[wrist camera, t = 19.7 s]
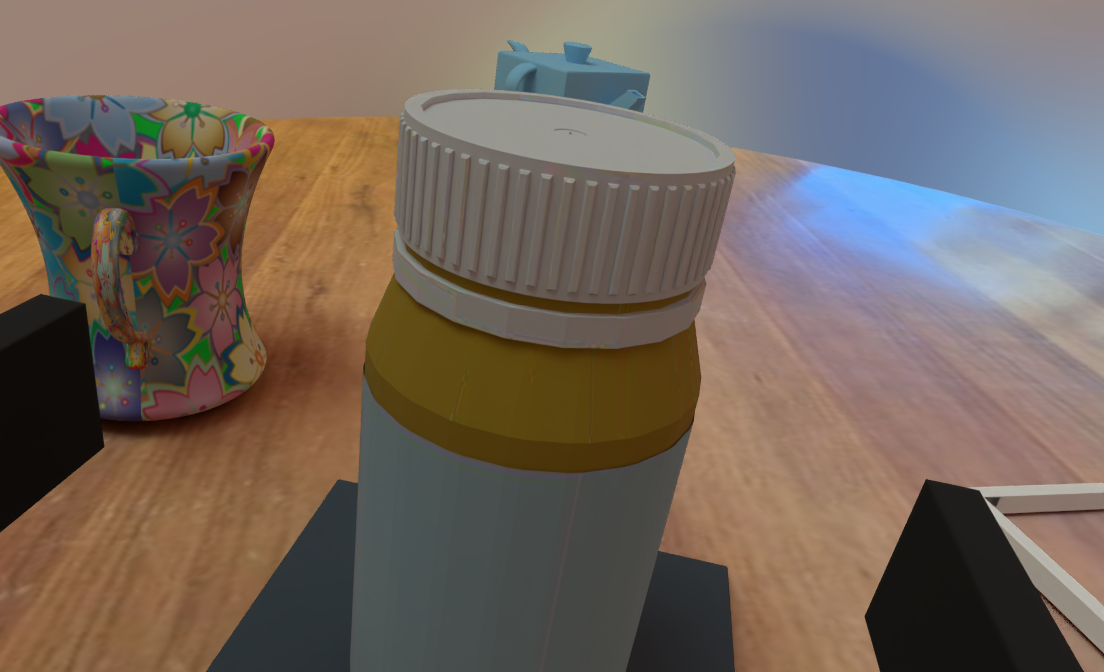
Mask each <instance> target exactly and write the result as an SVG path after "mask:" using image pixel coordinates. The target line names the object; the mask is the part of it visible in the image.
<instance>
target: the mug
mask: <svg viewBox="0 0 1104 672" xmlns="http://www.w3.org/2000/svg"><path fill="white" fill-rule="evenodd" d="M274 142H275V140H274V135H273V132H272V131H271V130H270V128H269V127H267V126H266V125H265V124H264V123H262V122H260V121H259V120H256V119H254V118H252V117H250V116H247V115H244V114H241V113H238V112H234V111H231V110H227V109H223V108H219V107H215V106H210V105H204V104H198V103H193V102H186V101H179V100H170V99H160V98H149V97H134V96H105V95H103V96H102V95H101V96H99V95H96V96H95V95H94V96H93V95H92V96H64V97H50V98H40V99H33V100H26V101H20V102H15V103H11V104H7V105H3V106H0V165H1V167H2V169H3V170H4V172H5V173H6V175H7V176H8V178H9V180H10V181H11V183H12V185H13V187H14V188H15V190H16V192H17V194H18V195H19V197H20V199H21V201H22V203H23V205H24V207H25V209H26V211H27V213H28V216H29V218H30V220H31V222H32V225H33V227H34V230H35V232H36V235H37V238H38V241H39V244H40V247H41V251H42V254H43V258H44V262H45V266H46V271H47V276H48V283H49V292H50V296H52V297H57V298H62V299H66V300H71V301H76V302H81V303H86V310H87V318H88V325H89V333H90V341H91V348H92V356H93V364H94V372H95V379H96V387H97V395H98V402H99V410H100V418H101V419H107V420H117V421H155V420H164V419H171V418H178V417H183V416H188V415H192V414H195V413H199V412H202V411H206V410H209V409H211V408H214V407H217V406H219V405H222V404H224V403H226V402H228V401H230V400H232V399H234V398H236V397H237V396H239V395H240V394H242V393H244V392H245V391H246V390H247V389H249V388H250V387H251V386H252V385H253V384H254V383H255V382H256V381H257V379H258V378H259V377H260V376H261V374H262V372H263V370H264V367H265V364H266V359H267V354H266V350H265V346H264V344H263V342H262V340H261V339H260V337H259V336H258V334H257V333H256V331H255V329H254V327H253V324H252V322H251V319H250V317H249V314H248V311H247V307H246V303H245V297H244V291H243V284H242V247H243V237H244V231H245V225H246V220H247V216H248V211H249V207H250V204H251V200H252V197H253V194H254V191H255V188H256V185H257V182H258V180H259V177H260V175H261V172H262V170H263V168H264V165H265V163H266V161H267V159H268V157H269V155H270V153H271V151H272V148H273V146H274Z"/></svg>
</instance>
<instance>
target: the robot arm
mask: <svg viewBox="0 0 1104 672" xmlns="http://www.w3.org/2000/svg"><path fill="white" fill-rule="evenodd" d="M102 448H104V441H103V433H102V425H101V418H100V410H99V402H98V395H97V387H96V379H95V372H94V364H93V356H92V348H91V341H90V333H89V325H88V318H87V310H86V303H81V302H76V301H71V300H66V299H62V298H57V297H52V296H47V295H43V294H40V295H38V296H36V297H34V298H32V299H30V300H28V301H26V302H24V303H22V304H20V305H18V306H16V307H14V308H12V309H10V310H8V311H6V312H4V313H2V314H0V532H1V531H3V530H4V529H5V528H6V527H7V526H9V525H10V524H11V523H12V522H13V521H15V520H16V519H17V518H18V517H20V516H21V515H22V514H23V513H24V512H26V511H27V510H28V509H29V508H31V507H32V506H33V505H34V504H35V503H37V502H38V501H39V500H40V499H42V498H43V497H44V496H45V495H46V494H48V493H49V492H50V491H51V490H53V489H54V488H55V487H56V486H57V485H59V484H60V483H61V482H62V481H63V480H65V479H66V478H67V477H68V476H70V475H71V474H72V473H73V472H74V471H76V470H77V469H78V468H79V467H81V466H82V465H83V464H84V463H85V462H87V461H88V460H89V459H90V458H92V457H93V456H94V455H95V454H96V453H98V452H99V451H100V450H101V449H102ZM865 620H866V623H867V627H868V630H869V634H870V637H871V641H872V644H873V648H874V651H875V655H876V658H877V662H878V665H879V669H880V672H1084V671H1083V670H1082V668H1081V666H1080V664H1079V663H1078V661H1077V659H1076V657H1075V656H1074V654H1073V652H1072V650H1071V649H1070V647H1069V645H1068V643H1067V642H1066V640H1065V638H1064V637H1063V635H1062V633H1061V631H1060V630H1059V628H1058V626H1057V624H1056V623H1055V621H1054V619H1053V617H1052V616H1051V614H1050V612H1049V610H1048V609H1047V607H1046V605H1045V604H1044V602H1043V600H1042V598H1041V597H1040V595H1039V593H1038V591H1037V590H1036V588H1035V586H1034V584H1033V583H1032V581H1031V579H1030V577H1029V576H1028V574H1027V572H1026V570H1025V569H1024V567H1023V565H1022V564H1021V562H1020V560H1019V558H1018V557H1017V555H1016V553H1015V551H1014V550H1013V548H1012V546H1011V544H1010V543H1009V541H1008V539H1007V537H1006V536H1005V534H1004V532H1003V531H1002V529H1001V527H1000V525H999V524H998V522H997V520H996V518H995V517H994V515H993V513H992V511H991V510H990V508H989V506H988V504H987V503H986V501H985V499H984V497H983V496H982V494H981V492H980V491H979V490H975V489H971V488H966V487H961V486H956V485H951V484H947V483H942V482H937V481H932V480H928V479H926V480H925V483H924V485H923V487H922V489H921V492H920V494H919V496H918V498H917V500H916V503H915V505H914V507H913V509H912V512H911V514H910V516H909V518H908V521H907V523H906V525H905V527H904V529H903V532H902V534H901V536H900V538H899V541H898V543H897V545H896V547H895V550H894V552H893V554H892V556H891V558H890V561H889V563H888V565H887V567H886V570H885V572H884V574H883V576H882V579H881V581H880V583H879V585H878V588H877V590H876V592H875V594H874V596H873V599H872V601H871V603H870V605H869V608H868V610H867V612H866V614H865Z"/></svg>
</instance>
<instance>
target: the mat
mask: <svg viewBox="0 0 1104 672" xmlns="http://www.w3.org/2000/svg"><path fill="white" fill-rule="evenodd" d="M357 498H358V484H357V483H353V482H348V481H344V480H338V481H337V482H336V484H335V485H334V486H333V488H332V489H331V491H330V492H329V494H328V495H327V497H326V498H325V500H324V501H323V502H322V504H321V505H320V507H319V508H318V510H317V511H316V513H315V514H314V516H313V517H312V518H311V520H310V521H309V523H308V524H307V526H306V527H305V529H304V530H303V531H302V533H301V534H300V536H299V537H298V539H297V540H296V542H295V543H294V545H293V546H292V547H291V549H290V550H289V552H288V553H287V555H286V556H285V558H284V559H283V561H282V562H281V563H280V565H279V566H278V568H277V569H276V571H275V572H274V574H273V575H272V577H271V578H270V579H269V581H268V582H267V584H266V585H265V587H264V588H263V590H262V591H261V593H260V594H259V595H258V597H257V598H256V600H255V601H254V603H253V604H252V606H251V607H250V609H249V610H248V611H247V613H246V614H245V616H244V617H243V619H242V620H241V622H240V623H239V625H238V626H237V627H236V629H235V630H234V632H233V633H232V635H231V636H230V638H229V639H228V641H227V642H226V643H225V645H224V646H223V648H222V649H221V651H220V652H219V654H218V655H217V657H216V658H215V659H214V661H213V662H212V664H211V665H210V667H209V668H208V670H207V671H206V672H350V649H351V628H352V606H353V584H354V563H355V541H356V520H357ZM626 672H735V668H734V654H733V639H732V625H731V611H730V596H729V582H728V568H727V567H726V566H723V565H718V564H714V563H709V562H705V561H700V560H696V559H691V558H687V557H682V556H678V555H674V554H669V553H665V552H660V551H658V554H657V558H656V562H655V565H654V569H653V573H652V576H651V580H650V584H649V587H648V591H647V595H646V598H645V602H644V606H643V609H642V613H641V617H640V620H639V624H638V628H637V632H636V635H635V639H634V643H633V646H632V650H631V654H630V657H629V661H628V665H627V668H626Z"/></svg>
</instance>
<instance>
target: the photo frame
mask: <svg viewBox="0 0 1104 672" xmlns="http://www.w3.org/2000/svg"><path fill="white" fill-rule="evenodd" d="M966 488H971V489H975V490H979V491H980V492H981V494H982V496H983V497H984V499H985V501H986V503H987V504H988V506H989V508H990V510H991V511H992V513H993V515H994V517H995V518H996V520H997V522H998V524H999V525H1000V527H1001V529H1002V531H1003V532H1004V534H1005V536H1006V537H1007V539H1008V541H1009V543H1010V544H1011V546H1012V548H1013V550H1014V551H1015V553H1016V555H1017V557H1018V558H1019V560H1020V562H1021V564H1022V565H1023V567H1024V569H1025V570H1026V572H1027V574H1028V576H1029V577H1030V579H1031V581H1032V583H1033V584H1034V586H1035V587H1036V588H1037V589H1038V590H1039V591H1040V592H1041V593H1042V594H1043V595H1044V596H1045V597H1046V598H1047V599H1048V600H1050V601H1051V602H1052V603H1053V604H1054V605H1055V606H1056V607H1057V608H1058V609H1059V610H1060V611H1061V612H1062V613H1063V614H1064V615H1065V616H1066V617H1067V618H1068V619H1069V620H1070V621H1071V622H1072V623H1073V624H1074V625H1075V626H1076V627H1077V628H1078V629H1079V630H1080V631H1081V632H1082V633H1084V634H1085V635H1086V636H1087V637H1088V638H1089V639H1090V640H1091V641H1092V642H1093V643H1094V644H1095V645H1096V646H1097V647H1098V648H1099V649H1100V650H1101V651H1102V652H1103V653H1104V606H1103V605H1102V604H1101V603H1100V602H1099V601H1098V600H1097V599H1095V598H1094V597H1093V596H1092V595H1091V594H1090V593H1089V592H1088V591H1087V590H1086V589H1084V588H1083V587H1082V586H1081V585H1080V584H1079V583H1078V582H1077V581H1076V580H1075V579H1073V578H1072V577H1071V576H1070V575H1069V574H1068V573H1067V572H1066V571H1065V570H1063V569H1062V568H1061V567H1060V566H1059V565H1058V564H1057V563H1056V562H1055V561H1054V560H1052V559H1051V558H1050V557H1049V556H1048V555H1047V554H1046V553H1045V552H1044V551H1043V550H1041V549H1040V548H1039V547H1038V546H1037V545H1036V544H1035V543H1034V542H1033V541H1032V540H1030V539H1029V538H1028V537H1027V536H1026V535H1025V534H1024V533H1023V532H1022V531H1021V530H1019V529H1018V528H1017V527H1016V526H1015V525H1014V524H1013V523H1012V522H1011V521H1010V520H1008V519H1007V518H1006V517H1005V516H1004V515H1003V514H1004V513H1026V512H1048V511H1070V510H1092V509H1104V483H1086V484H1056V485H1026V486H996V487H966Z"/></svg>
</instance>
